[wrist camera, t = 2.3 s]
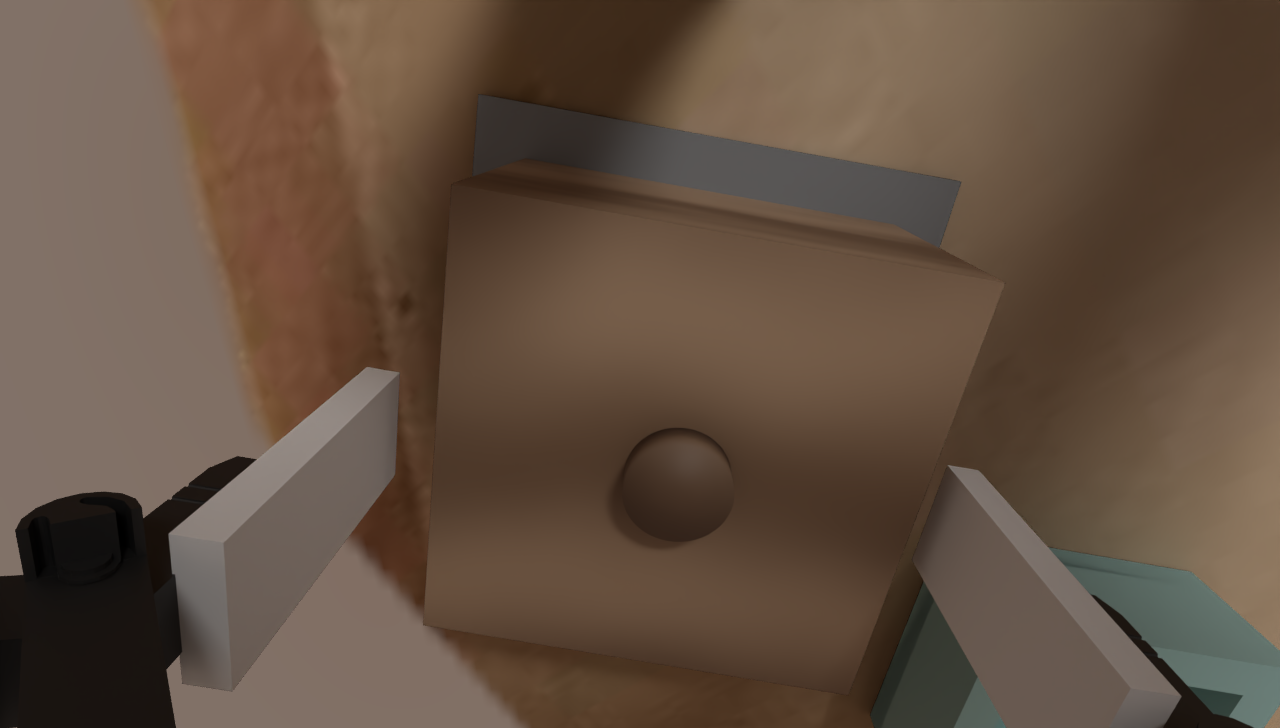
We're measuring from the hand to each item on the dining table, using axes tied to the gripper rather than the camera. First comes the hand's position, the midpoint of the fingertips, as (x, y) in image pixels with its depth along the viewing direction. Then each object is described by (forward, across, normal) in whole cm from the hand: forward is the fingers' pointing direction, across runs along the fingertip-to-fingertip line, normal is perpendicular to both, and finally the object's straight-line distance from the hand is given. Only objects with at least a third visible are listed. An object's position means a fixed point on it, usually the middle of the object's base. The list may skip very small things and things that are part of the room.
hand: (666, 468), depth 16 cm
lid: (+6, 0, 0) cm, 6 cm away
